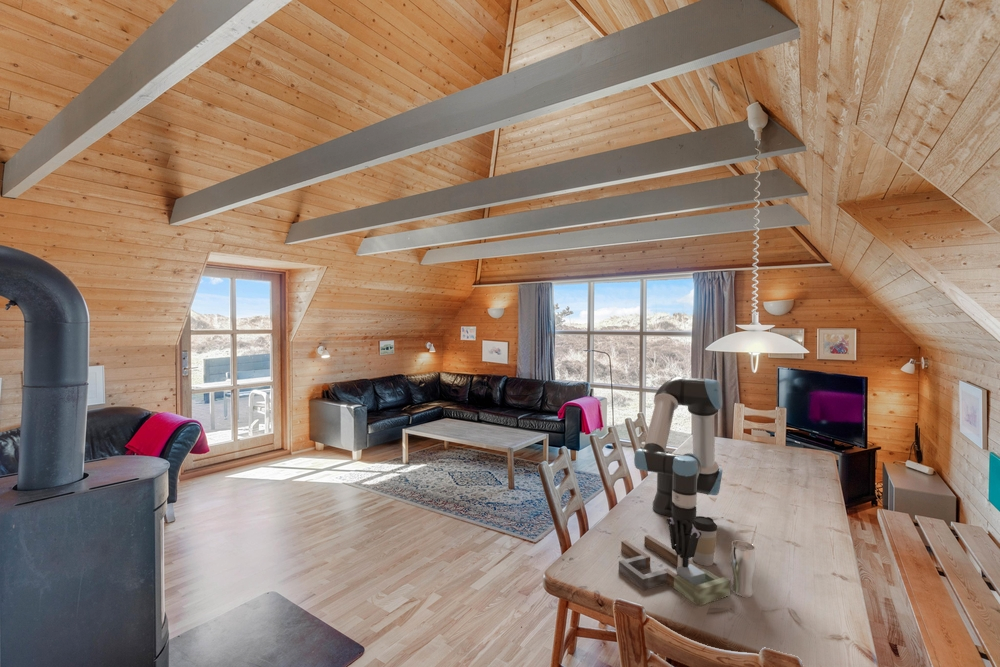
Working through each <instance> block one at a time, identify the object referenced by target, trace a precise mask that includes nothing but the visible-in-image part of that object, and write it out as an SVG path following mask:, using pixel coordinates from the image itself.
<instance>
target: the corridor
mask: <svg viewBox="0 0 1000 667" xmlns="http://www.w3.org/2000/svg"><path fill="white" fill-rule="evenodd" d="M643 541H644V544H643V546H645V547H647V549H650V550H652V551H653V553H654V552H655V554H657V555H659V556H661V558H664V559H665V560H667V561H668V562H670V563H672V564H673V565H674V566H675V567H676V568H677V567H678V563H677V561H676V559H677V554H676V551H675V550H673V549H672V547H671V548H670V547H669V546H667V545H665V544H664V543H663V542H660V541H659V540H658V539H655V537H653V536H651V535H649V534H647V535H644V540H643ZM620 542H621V543H620V544H621V546H620V550H621V552H623V553H624V554H626V556H628V557H630V558H625V559H622V560H619V561H618V572H619V573H620V574H621V575H623V576H624V577H625V578H627V580H629V581H630V582H632V583H633V584H634V585H636V586H637V587H638V588H640V589H641V590H642V591H646V590H649V589H653V588H655V587H659V586H663V585H666V584H667V585H669V586H670V587H671V588H673V589H675V590H676V591H677V592H679V594H681V595H683V596H684V597H686V598H687V599H688V600H690V601H691V602H692V603H694V604H695V603H696V605H697V606H698V605H699V606H698V607H701V606H703V604H704V605H706V603H707V604H709V603H708V602H710V603H712V602H711V601H713V602H715V601H714V600H716V601H718V600H717V599H719V600H721V599H720V598H722V599H724V598H723V597H725V598H727V597H726V596H728V597H730V596H729V595H731V594H730V591H731V590H730V589H731V580H730V579H729V578H727V577H726V576H723V577H718V576H717V575H715V574H713V573H712V572H710V571H709V570H707V569H705V568H703V567H702V566H701V565H699V564H698V563H696V562H694V561H693V560H690V559H689V562H688V564H692V565H693V566H695V567H697V568H698V569H700V570H701V571H703V572H705V583H703V584H699V585H696V586H694V585H692V584H691V583H689V582H688V581H686V580H685V579H683V578H682V577H680V576H678V575H677V573H675V572H673V571H672V570H671V569H670V568H663V569H660V570H657V571H652V572H649V573H646V574H643V573H642V572H641V570H643V569H647V568H650V567H651V556H650V555H648V554H647V553H645V552H644V551H642V550H641V549H639V548H638V547H636V546H635V545H633V544H632V543H630V542H629V541H628V540H621V541H620ZM700 605H701V606H700Z"/></svg>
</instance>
